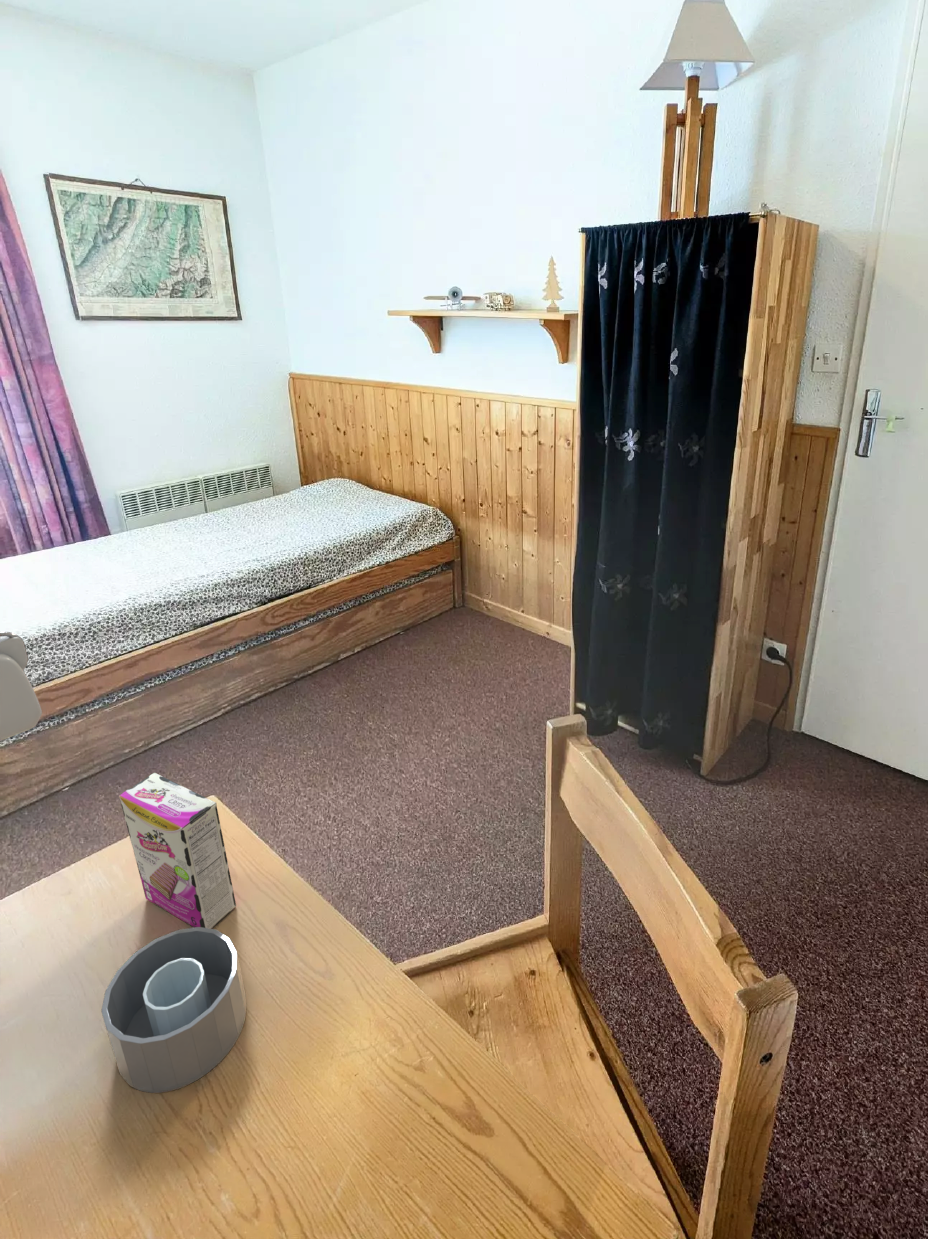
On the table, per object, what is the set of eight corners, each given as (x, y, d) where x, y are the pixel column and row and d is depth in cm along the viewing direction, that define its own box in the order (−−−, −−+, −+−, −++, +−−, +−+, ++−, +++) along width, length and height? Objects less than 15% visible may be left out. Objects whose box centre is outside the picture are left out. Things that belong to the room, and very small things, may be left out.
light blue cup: (144, 1028, 69) (133, 987, 67) (197, 988, 73) (188, 948, 71) (169, 1064, 65) (157, 1022, 63) (223, 1021, 69) (214, 979, 67)
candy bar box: (142, 902, 84) (115, 795, 78) (178, 873, 88) (154, 770, 82) (204, 939, 79) (180, 828, 73) (238, 907, 83) (218, 799, 77)
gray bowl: (96, 1037, 68) (81, 988, 66) (211, 953, 77) (202, 907, 75) (149, 1124, 61) (134, 1072, 59) (269, 1020, 70) (261, 972, 68)
